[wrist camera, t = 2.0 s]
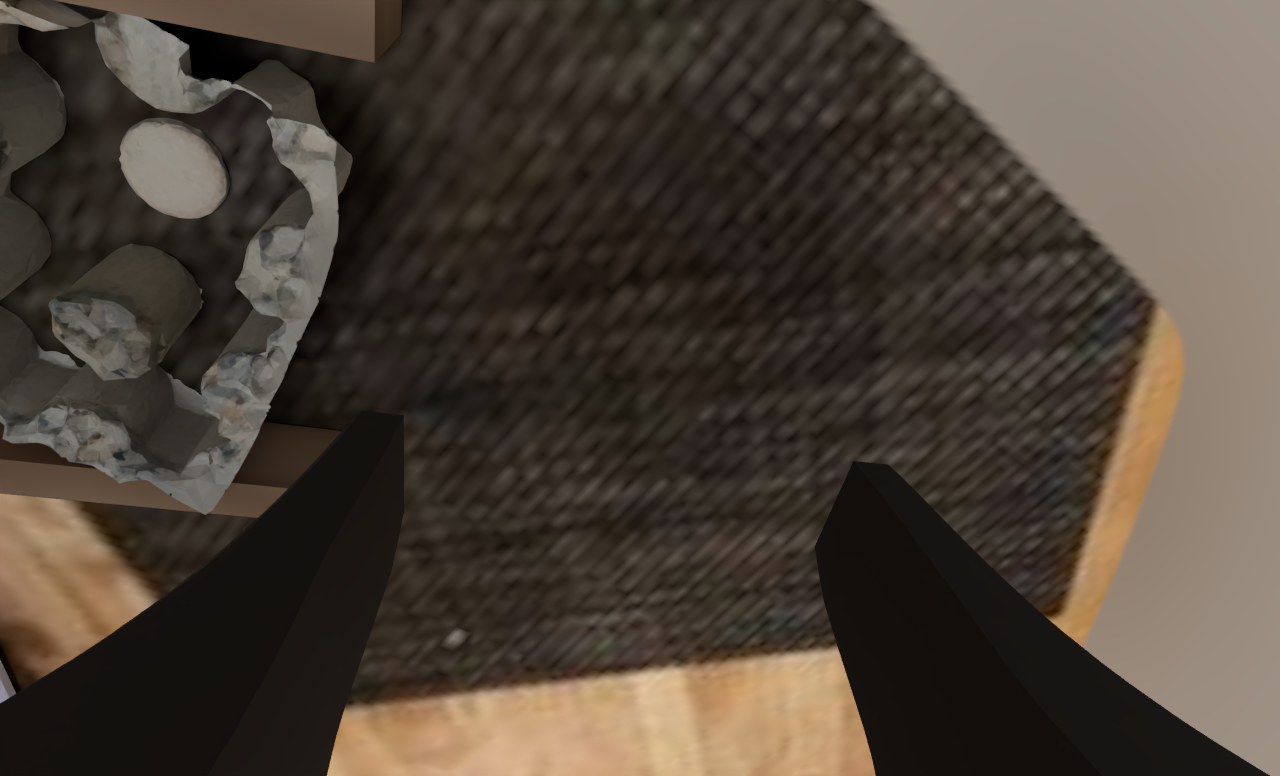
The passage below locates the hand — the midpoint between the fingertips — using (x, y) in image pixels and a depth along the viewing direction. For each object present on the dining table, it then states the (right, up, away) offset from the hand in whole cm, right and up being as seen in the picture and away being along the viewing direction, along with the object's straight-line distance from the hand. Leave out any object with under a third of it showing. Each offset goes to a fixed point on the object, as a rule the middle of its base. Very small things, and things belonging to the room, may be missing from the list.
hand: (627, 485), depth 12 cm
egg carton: (-11, +5, +6) cm, 14 cm away
